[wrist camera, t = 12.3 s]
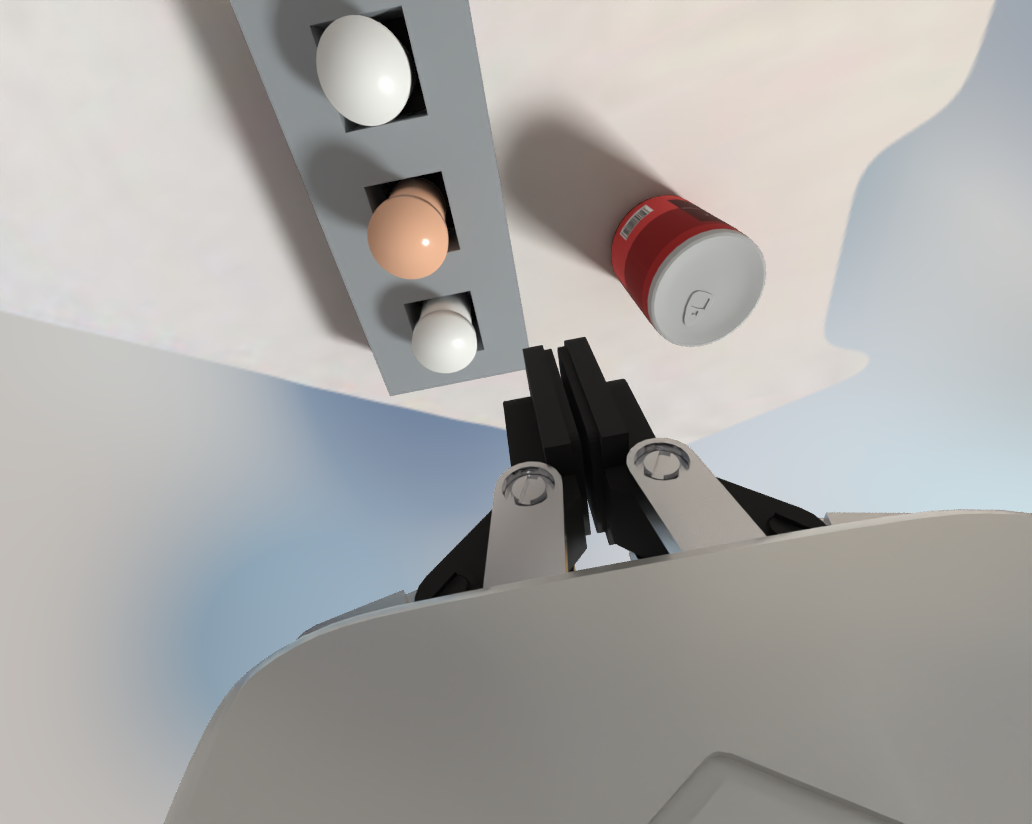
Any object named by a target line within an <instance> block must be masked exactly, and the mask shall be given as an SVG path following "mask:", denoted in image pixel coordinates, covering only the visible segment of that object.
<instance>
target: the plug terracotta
mask: <svg viewBox="0 0 1032 824" xmlns="http://www.w3.org/2000/svg"><path fill="white" fill-rule="evenodd" d="M445 218H446V203H445V199H444V197H443V195H442V193H441V191H440V190H439V189H438V187H437V186H436V185H435V184H433V183H432V182H430V181H429V180H427V179H424V178H421V177H410V178H406V179H404V180H402V181H400V182H399V183H398V184H397V185H396V186H395V187H394V189H393V190H392V192H391V194H390V196H389V198H388V199H387V200H385V201H383V202H382V203H381V204H380V205H379V206H378V208H377V209H376V210H375V212H374V214H373V215H372V217H371V219H370V222H369V225H368V231H367V239H368V244H369V248H370V251H371V253H372V255H373V257H374V258H375V260H376V261H377V262H378V264H379V265H380V266H381V267H382V268H384V269H385V270H386V271H388V272H389V273H391V274H393V275H395V276H397V277H400V278H404V279H420V278H423V277H426V276H429V275H430V274H432V273H434V272H435V271H436V270H437V269H438V268H439V267H440V266H441V264H442V263H443V261H444V259H445V257H446V254H447V250H448V239H449V238H448V229H447V226H446V223H445Z"/></svg>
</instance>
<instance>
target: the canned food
mask: <svg viewBox="0 0 1032 824" xmlns="http://www.w3.org/2000/svg"><path fill="white" fill-rule="evenodd" d="M611 258H612V266H613V269H614V272H615V274H616V276H617V278H618V279H619V281H620V282H621V283H622V285H623V286H624V288H625V289H626V290H627V292H628V293H629V294H630V296H631V297H632V299H633V300H634V301H635V303H636V304H637V305H638V307H639V308H640V310H641V311H642V312H643V314H644V315H645V316H646V318H647V319H648V321H649V322H650V323H651V324H652V325H653V327H654V328H655V329H656V330H657V331H658V333H659V334H660V335H661V336H663V337H664V338H665V339H666V340H668V341H670V342H671V343H673V344H676V345H679V346H686V347H696V346H703V345H707V344H711V343H713V342H715V341H718V340H720V339H722V338H724V337H725V336H727V335H728V334H730V333H732V332H733V331H734V330H735V329H737V328H738V327H739V326H740V325H741V324H742V323H743V322H744V321H745V320H746V319H747V318H748V317H749V315H750V314H751V313H752V311H753V310H754V308H755V307H756V305H757V303H758V301H759V299H760V297H761V295H762V292H763V288H764V285H765V279H766V265H765V260H764V257H763V254H762V252H761V250H760V249H759V248H758V246H757V245H756V244H755V243H754V242H753V241H752V240H751V239H750V238H749V237H747V236H746V235H745V234H743V233H742V232H740V231H739V230H737V229H736V228H734V227H732V226H730V225H729V224H727V223H725V222H724V221H722V220H720V219H718V218H717V217H715V216H713V215H711V214H710V213H708V212H706V211H704V210H703V209H701V208H699V207H698V206H696V205H694V204H692V203H691V202H689V201H687V200H685V199H683V198H681V197H678V196H672V195H665V196H658V197H654V198H651V199H647V200H645V201H644V202H642V203H640V204H638V205H637V206H636V207H634V208H633V209H632V210H631V211H630V212H629V213H628V214H627V215H626V216H625V217H624V218H623V220H622V221H621V223H620V224H619V226H618V228H617V230H616V232H615V235H614V239H613V242H612V251H611Z"/></svg>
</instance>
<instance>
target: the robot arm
mask: <svg viewBox="0 0 1032 824" xmlns="http://www.w3.org/2000/svg"><path fill="white" fill-rule="evenodd" d="M522 350H523V356H524V362H525V367H526V373H527V379H528V384H529V390H530V395H531V396H530V397H525V398H520V399H514V400H509V401H504V402H503V406H504V414H505V422H506V430H507V438H508V445H509V454H510V462H511V467H510V468H509V469H508V470H506V471H505V472H504V473H502V475H501V476H500V477H499V479H498V480H497V483H496V486H495V491H494V499H493V508H492V510H491V511H490V512H489V513H488V514H487V515H486V516H485V517H484V518H483V519H482V521H480V523H478V525H476V527H475V528H474V529H473V530H472V531H471V532H470V533H469V534H468V535H467V536H466V537H465V538H464V539H463V540H462V541H461V542H460V543H459V544H458V545H457V546H456V547H455V548H454V549H453V550H452V551H451V552H450V553H449V554H448V555H447V556H446V557H445V558H444V559H443V560H442V561H441V562H440V563H439V564H438V565H437V566H436V567H435V568H434V569H433V571H431V572H430V573H429V574H428V575H427V576H426V578H425V579H424V580H423V582H422V583H421V584H420V585H419V587H418V590H416V591H413V592H411V593H408V594H405V592H404V590H402V591H399V592H397V593H394V594H392V595H389V596H387V597H384V598H382V599H379V600H377V601H374V602H372V603H369V604H367V605H364V606H362V607H359V608H357V609H354V610H352V611H349V612H347V613H344V614H342V615H339V616H337V617H335V618H332V619H330V620H327V621H325V622H322V623H320V624H317V625H315V626H313V627H312V628H310V629H308V630H306V631H305V632H304V633H303V634H302V635H301V636H299V638H298V639H296V640H295V641H294V642H292V643H290V644H288V645H286V646H285V647H283V648H281V649H279V650H277V651H276V652H274V653H273V654H271V655H270V656H268V657H267V658H265V659H264V660H262V661H261V662H260V663H258V664H257V665H256V666H255V667H253V668H252V669H251V670H249V671H248V672H247V673H246V674H245V675H244V676H243V677H242V678H241V679H240V680H239V681H238V682H237V683H235V685H234V686H233V687H232V688H231V690H230V691H229V692H228V694H227V695H226V696H225V697H224V699H223V700H222V702H221V703H220V705H219V706H218V708H217V710H216V711H215V713H214V715H213V716H212V718H211V720H210V722H209V723H208V725H207V727H206V729H205V731H204V733H203V735H202V737H201V739H200V741H199V744H198V746H197V748H196V750H195V752H194V754H193V756H192V758H191V760H190V762H189V765H188V767H187V769H186V771H185V774H184V776H183V778H182V781H181V783H180V785H179V788H178V790H177V792H176V794H175V797H174V799H173V802H172V804H171V807H170V809H169V812H168V815H167V817H166V819H165V822H164V824H1032V513H1024V512H1014V511H1005V510H973V509H972V510H971V509H958V510H942V511H927V512H920V513H826V515H825V517H824V518H818V517H816V516H815V515H814V514H812V513H810V512H808V511H806V510H804V509H802V508H799V507H797V506H794V505H791V504H788V503H786V502H783V501H780V500H777V499H775V498H772V497H769V496H767V495H764V494H761V493H758V492H755V491H753V490H750V489H747V488H744V487H742V486H739V485H736V484H734V483H731V482H728V481H725V480H723V479H720V478H717V477H715V476H714V474H712V472H711V471H710V470H709V469H708V467H707V466H706V465H705V464H704V463H703V462H702V460H701V459H700V458H699V457H698V456H697V455H696V454H695V453H694V451H693V450H692V449H690V448H689V447H688V446H687V445H685V444H683V443H681V442H679V441H677V440H673V439H668V438H656V437H655V435H654V434H653V432H652V430H651V428H650V426H649V424H648V422H647V420H646V418H645V416H644V414H643V412H642V410H641V408H640V407H639V405H638V403H637V401H636V399H635V397H634V395H633V393H632V391H631V389H630V387H629V385H628V383H627V382H626V380H625V379H619V380H614V381H609V382H606V381H605V379H604V377H603V374H602V372H601V370H600V368H599V366H598V363H597V361H596V359H595V357H594V355H593V352H592V350H591V348H590V346H589V343H588V341H587V339H586V337H581V338H576V339H571V340H566V341H564V346H563V347H558V358H559V366H560V374H561V377H560V374H559V371H558V368H557V365H556V361H555V358H554V355H553V352H552V349H548V350H544V348H543V345H540V346H535V347H530V348H524V349H522ZM587 500H588V503H589V507H590V510H591V514H592V517H593V520H594V524H595V528H596V531H597V533H602V532H605V533H606V536H607V539H608V543H609V545H613V544H617V545H619V546H621V547H623V548H625V549H627V550H629V556H630V559H631V561H627V562H622V563H616V564H611V565H605V566H600V567H595V568H589V569H584V570H578V571H575V563H576V562H577V561H578V559H579V558H580V557H581V555H582V554H583V553H584V552H585V550H586V549H587V544H586V536H585V535H590V534H591V531H590V522H589V512H588V503H587Z"/></svg>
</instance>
